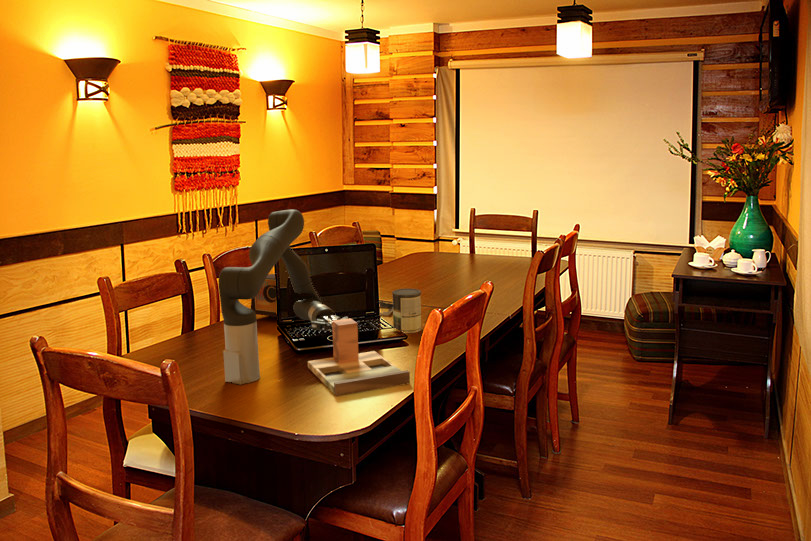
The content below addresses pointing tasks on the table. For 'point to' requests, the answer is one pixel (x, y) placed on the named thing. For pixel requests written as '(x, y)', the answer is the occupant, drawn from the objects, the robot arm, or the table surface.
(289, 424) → the table surface
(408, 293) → the coffee can
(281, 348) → the table surface
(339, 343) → the block
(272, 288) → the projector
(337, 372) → the trap box
